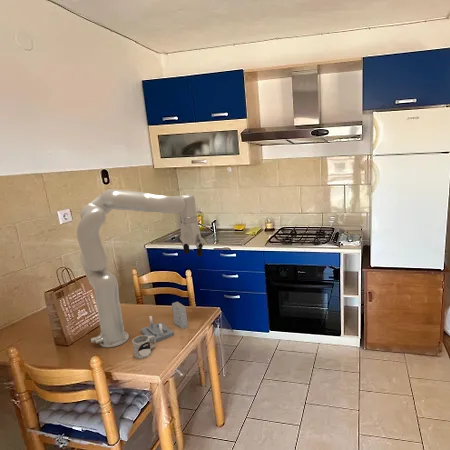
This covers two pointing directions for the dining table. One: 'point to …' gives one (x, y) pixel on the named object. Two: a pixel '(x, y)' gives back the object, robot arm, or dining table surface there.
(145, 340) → the mug
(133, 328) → the dining table surface
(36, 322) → the dining table surface
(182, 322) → the block
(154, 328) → the grey peg stand
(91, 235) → the robot arm
